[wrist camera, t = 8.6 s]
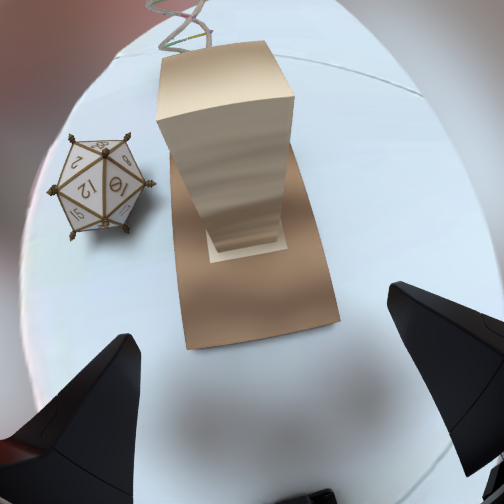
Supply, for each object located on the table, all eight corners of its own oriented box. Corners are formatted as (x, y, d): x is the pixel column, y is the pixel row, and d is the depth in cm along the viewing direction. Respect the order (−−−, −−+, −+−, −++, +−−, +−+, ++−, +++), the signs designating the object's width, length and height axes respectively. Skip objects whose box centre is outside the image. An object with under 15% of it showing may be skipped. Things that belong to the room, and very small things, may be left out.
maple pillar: (276, 241, 18) (294, 96, 7) (217, 252, 18) (156, 120, 7) (264, 190, 19) (264, 40, 8) (210, 201, 19) (162, 58, 8)
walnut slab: (333, 323, 18) (341, 320, 16) (194, 348, 18) (186, 349, 16) (283, 143, 23) (285, 128, 21) (175, 163, 23) (169, 149, 21)
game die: (123, 214, 26) (77, 134, 20) (187, 193, 23) (137, 92, 17) (75, 275, 19) (10, 181, 14) (138, 264, 16) (54, 130, 11)
